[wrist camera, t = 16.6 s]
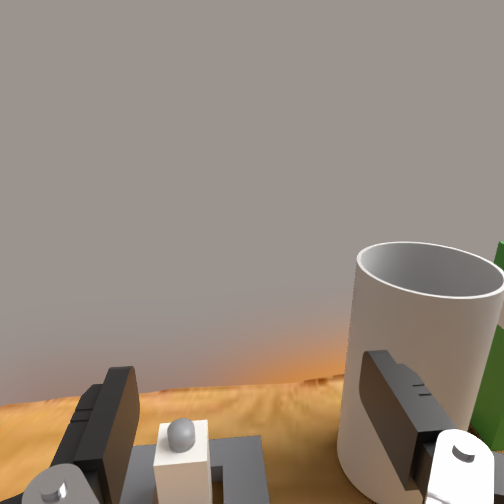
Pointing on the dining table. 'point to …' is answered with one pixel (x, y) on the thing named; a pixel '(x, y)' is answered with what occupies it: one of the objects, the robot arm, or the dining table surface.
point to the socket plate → (222, 470)
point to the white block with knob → (183, 463)
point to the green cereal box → (492, 384)
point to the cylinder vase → (416, 344)
